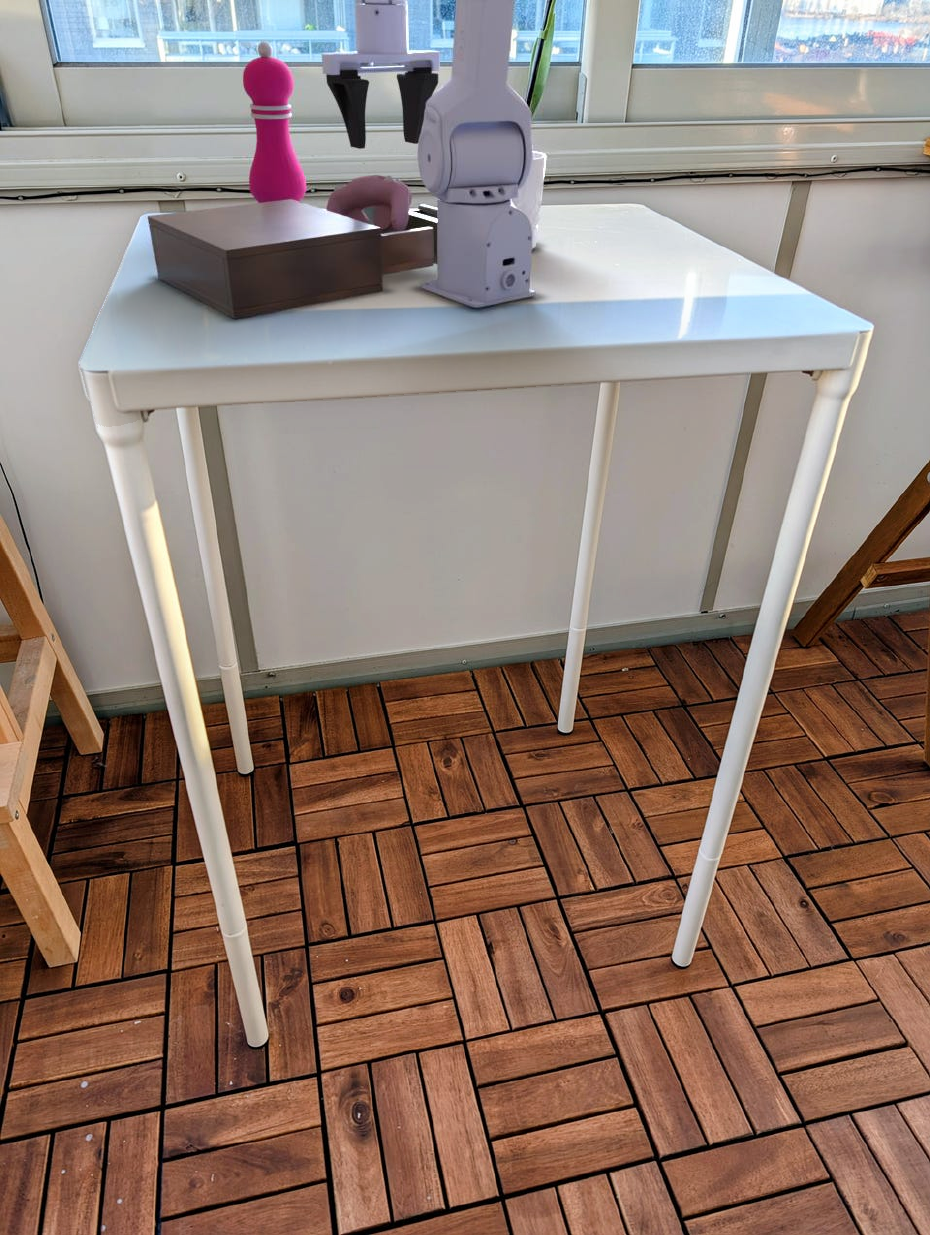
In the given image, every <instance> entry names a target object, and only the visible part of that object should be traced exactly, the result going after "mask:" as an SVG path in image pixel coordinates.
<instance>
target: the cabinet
mask: <svg viewBox="0 0 930 1235" xmlns="http://www.w3.org/2000/svg"><path fill="white" fill-rule="evenodd" d="M147 222H148V227H149V233H150V238H151V245H152V249H153V256H154V262H155V267H156V274H157V278H158V279H159V280H161V281H163V282H165V283H167V284H168V285H170V286H172V287H174V288H176V289H178V290H180V291H181V292H183V293H185V294H187V295H188V296H191V297H192V298H195V299H196V300H199V302H201V303H204V304H205V305H207V306H209V307H211V308H213V309H215V310H217V311H219V312H220V313H222V314H224V315H226V316H228V317H230V318H232V319H233V320H238V319H243V318H248V317H254V316H259V315H265V314H270V313H276V312H281V311H285V310H290V309H296V308H301V307H307V306H312V305H313V306H314V305H317V304H318V305H319V304H322V303H328V302H334V301H338V300H344V299H349V298H354V297H360V296H365V295H370V294H375V293H380V292H384V287H383V285H384V284H383V275H382V249H381V228H380V227H376V226H373V225H370V224H367V223H364V222H361V221H358V220H355V219H352V218H349V217H345V216H342V215H339V214H336V213H333V212H330V211H327V210H324V208H321V207H318V206H314V205H311V204H308V203H305V202H302V201H300V202H299V201H296V200H293V199H288V200H280V201H271V202H263V203H259V202H255V203H248V204H239V205H229V206H221V207H214V208H213V207H212V208H205V209H197V210H196V209H195V210H189V211H180V212H171V213H163V214H156V215H155V214H154V215H147Z"/></svg>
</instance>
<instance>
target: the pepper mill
mask: <svg viewBox="0 0 930 1235" xmlns="http://www.w3.org/2000/svg"><path fill="white" fill-rule="evenodd" d="M257 53H258V55H259V57H256V58H254V59H252V60H250V61H249V62H248V63H247V64H246V66H245V67H244V70H243V74H242V84H243V85H242V86H243V89H244V91H245V93H246V94H247V96H248V97H249V99H250V100H251V102H252V103H251V104H249V108H250V117H251V118H253V119H254V125H255V130H256V132H255V133H256V144H255V152H254V156H253V160H252V163H251V166H250V170H249V175H248V188H249V192H250V194H251V195H252V197H253V198H254V199H255V200H256V201H257V203H263V202H271V201H280V200H288V199H293V200H296V201H299V202H302V199H304V196H305V194H307V193H306V192H307V182H306V181H307V180H306V176H305V174H304V171H303V167H302V166H301V163H300V160H299V159H298V157H297V155H296V152H295V150H294V147H293V144H292V139H291V134H290V118H292V116H293V114H292V110H291V108H292V105H291V104H290V103H289V99H290V97H291V96H292V94H293V93H294V88H295V86H294V85H295V84H294V78H293V74H292V72H291V70H290V68H289V67H288V65H287V64H286V63H285V62H284V61H283V60H281V59H278V58H276V57H272V56H273V54H274V48H273V46H272V44H271V43H270V42H268V41H261V42H259V44H258V46H257Z"/></svg>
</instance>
